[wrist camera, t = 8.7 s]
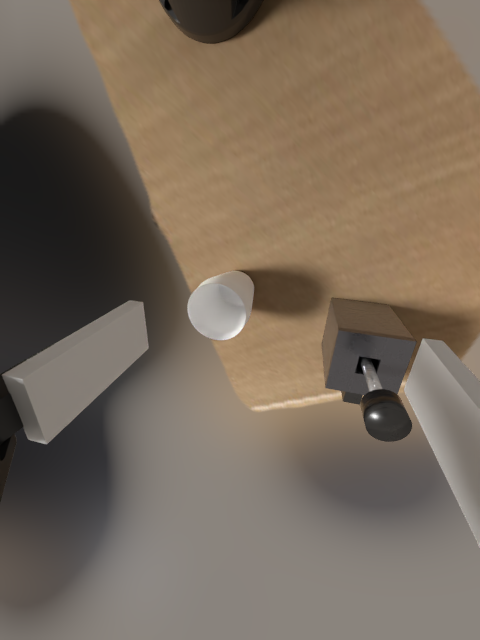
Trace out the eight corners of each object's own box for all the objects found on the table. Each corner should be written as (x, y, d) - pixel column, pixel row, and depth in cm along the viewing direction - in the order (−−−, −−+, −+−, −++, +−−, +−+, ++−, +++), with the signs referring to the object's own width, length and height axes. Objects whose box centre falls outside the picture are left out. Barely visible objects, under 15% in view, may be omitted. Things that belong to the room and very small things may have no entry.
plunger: (339, 312, 43) (360, 392, 25) (382, 317, 42) (437, 406, 24) (331, 346, 46) (346, 442, 28) (371, 353, 45) (413, 457, 27)
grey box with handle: (331, 297, 46) (338, 330, 34) (388, 304, 44) (416, 341, 32) (318, 360, 51) (320, 407, 39) (369, 368, 49) (387, 420, 38)
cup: (270, 280, 47) (258, 303, 36) (246, 320, 51) (229, 351, 40) (225, 254, 47) (200, 269, 36) (205, 296, 51) (177, 321, 40)
